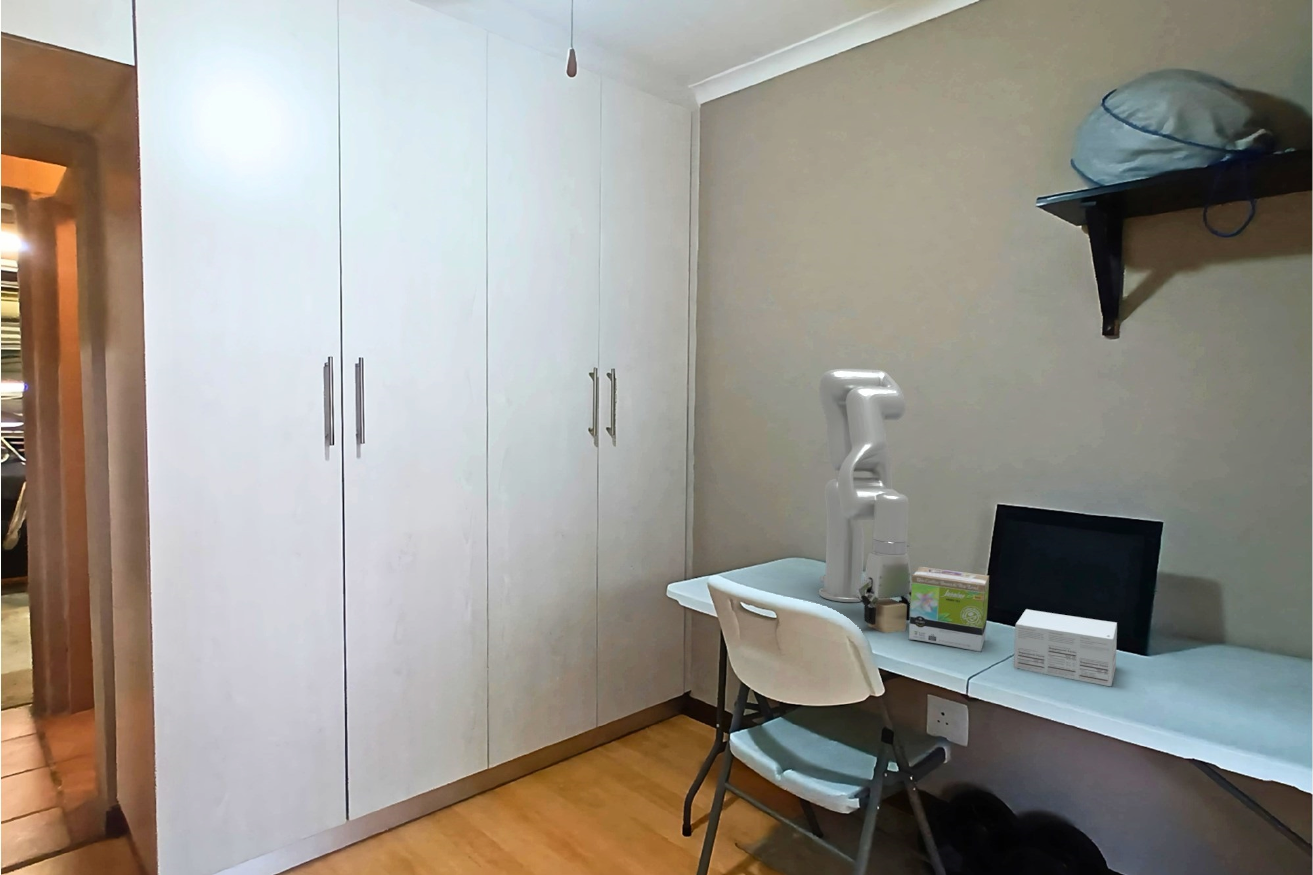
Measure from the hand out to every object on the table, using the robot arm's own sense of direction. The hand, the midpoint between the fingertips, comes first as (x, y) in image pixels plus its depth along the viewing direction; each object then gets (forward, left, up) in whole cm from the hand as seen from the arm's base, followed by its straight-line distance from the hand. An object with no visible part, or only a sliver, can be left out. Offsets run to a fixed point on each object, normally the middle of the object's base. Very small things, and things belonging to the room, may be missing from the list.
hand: (886, 621), depth 177 cm
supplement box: (+33, +17, -2) cm, 37 cm away
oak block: (0, 0, -2) cm, 2 cm away
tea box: (+12, +7, -2) cm, 14 cm away
